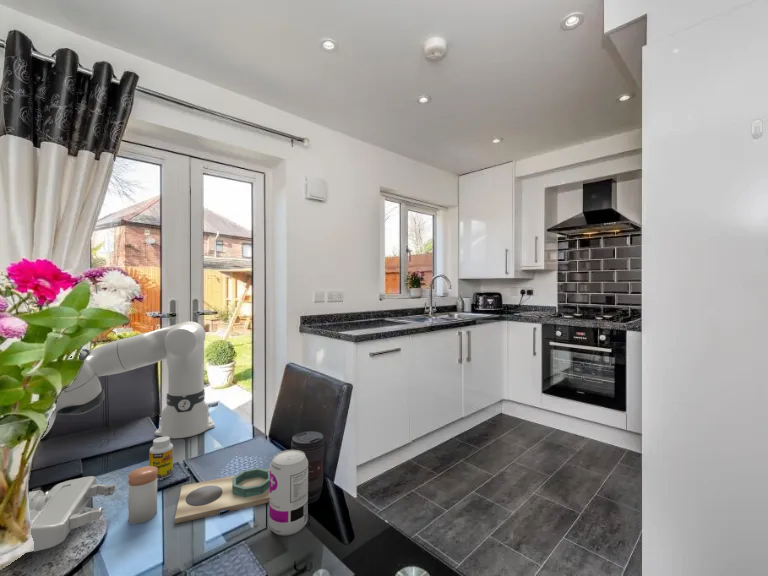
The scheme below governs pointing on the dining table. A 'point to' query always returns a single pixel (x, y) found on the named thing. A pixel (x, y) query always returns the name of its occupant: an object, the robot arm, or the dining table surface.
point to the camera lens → (311, 460)
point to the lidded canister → (142, 494)
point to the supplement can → (288, 492)
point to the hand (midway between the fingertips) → (108, 500)
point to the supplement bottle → (162, 456)
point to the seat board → (223, 494)
